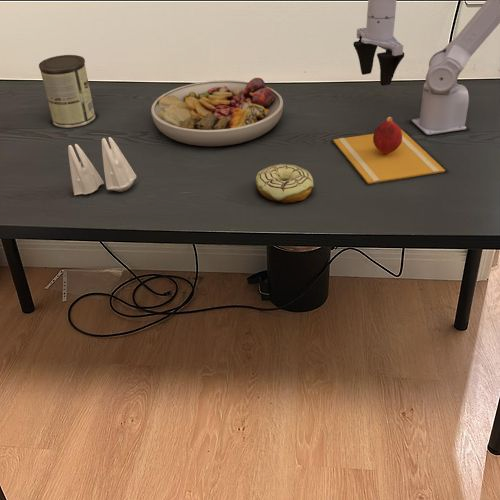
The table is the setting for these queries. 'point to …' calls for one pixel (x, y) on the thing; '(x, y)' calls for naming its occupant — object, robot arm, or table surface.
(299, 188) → the decorated donut
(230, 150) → the table surface
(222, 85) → the bowl
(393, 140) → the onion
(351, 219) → the table surface
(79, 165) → the shaker set
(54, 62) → the coffee can
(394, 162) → the towel
